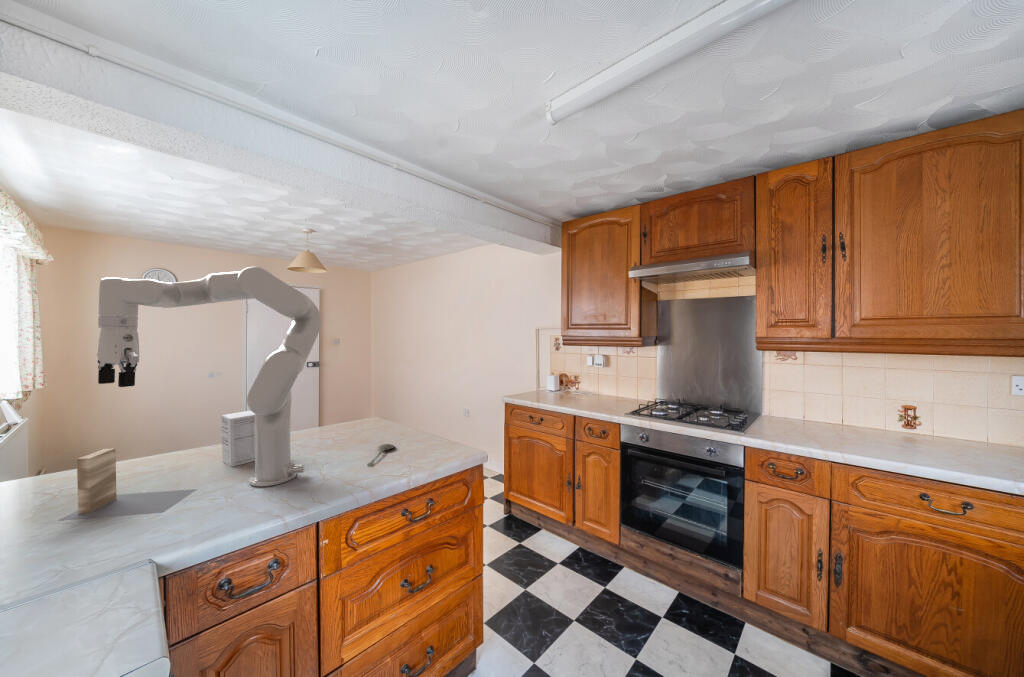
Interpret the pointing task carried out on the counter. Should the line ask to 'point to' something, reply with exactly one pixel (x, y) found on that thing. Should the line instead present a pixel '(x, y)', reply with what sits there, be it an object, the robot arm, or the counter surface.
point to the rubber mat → (135, 504)
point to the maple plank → (96, 480)
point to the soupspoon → (383, 448)
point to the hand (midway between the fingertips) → (116, 384)
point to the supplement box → (238, 438)
